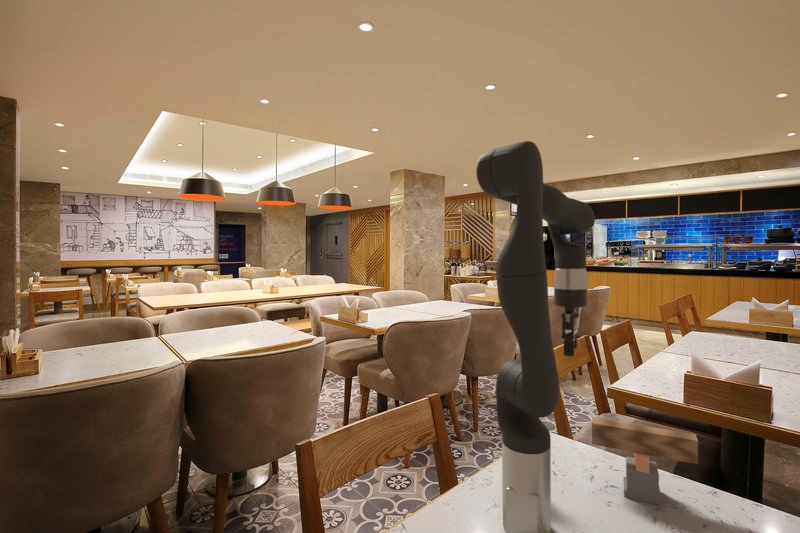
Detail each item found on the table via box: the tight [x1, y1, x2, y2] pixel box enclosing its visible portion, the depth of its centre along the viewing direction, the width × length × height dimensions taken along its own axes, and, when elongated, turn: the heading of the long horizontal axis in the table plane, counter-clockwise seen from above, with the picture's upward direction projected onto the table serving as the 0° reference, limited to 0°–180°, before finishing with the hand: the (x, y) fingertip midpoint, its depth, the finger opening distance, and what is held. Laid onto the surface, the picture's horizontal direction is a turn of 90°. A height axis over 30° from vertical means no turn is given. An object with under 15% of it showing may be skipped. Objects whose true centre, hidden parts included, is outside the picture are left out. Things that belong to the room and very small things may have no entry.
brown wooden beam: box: [591, 417, 699, 465], centre depth 89 cm, size 20×4×5 cm, turn 62°
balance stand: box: [623, 452, 663, 506], centre depth 90 cm, size 6×7×10 cm
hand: (570, 351), depth 99 cm, fingers open, 8 cm apart
